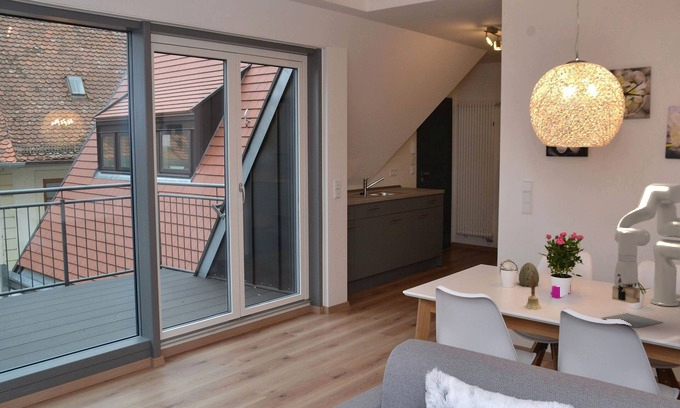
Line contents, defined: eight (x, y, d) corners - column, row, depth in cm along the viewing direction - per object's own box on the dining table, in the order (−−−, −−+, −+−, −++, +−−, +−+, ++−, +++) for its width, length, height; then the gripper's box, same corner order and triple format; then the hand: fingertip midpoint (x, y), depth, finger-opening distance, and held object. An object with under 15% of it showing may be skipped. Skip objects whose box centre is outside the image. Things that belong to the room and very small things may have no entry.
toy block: (558, 295, 327) (559, 281, 327) (570, 296, 323) (570, 282, 322) (546, 299, 316) (547, 285, 315) (558, 301, 312) (559, 287, 311)
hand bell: (525, 310, 294) (526, 277, 292) (522, 306, 302) (523, 274, 301) (543, 310, 292) (544, 277, 291) (540, 306, 301) (540, 274, 300)
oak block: (619, 297, 276) (620, 284, 276) (639, 302, 268) (640, 288, 267) (612, 299, 274) (612, 285, 274) (632, 303, 265) (632, 289, 265)
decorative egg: (526, 286, 348) (526, 260, 347) (542, 289, 339) (543, 262, 338) (514, 289, 341) (514, 262, 340) (531, 292, 333) (531, 265, 332)
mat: (627, 313, 285) (627, 313, 285) (663, 322, 270) (663, 321, 270) (600, 318, 277) (600, 317, 277) (636, 328, 261) (636, 327, 261)
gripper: (632, 255, 277) (631, 295, 278) (606, 258, 269) (605, 299, 270) (647, 258, 270) (646, 299, 271) (621, 260, 262) (620, 303, 263)
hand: (626, 298), depth 271 cm, fingers closed on oak block, 5 cm apart
